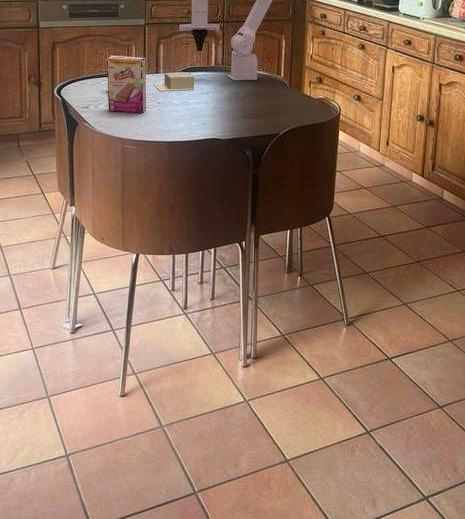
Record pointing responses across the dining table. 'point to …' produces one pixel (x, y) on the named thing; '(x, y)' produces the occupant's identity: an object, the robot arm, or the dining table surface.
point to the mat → (163, 88)
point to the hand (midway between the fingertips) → (199, 50)
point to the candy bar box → (126, 84)
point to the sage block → (178, 80)
